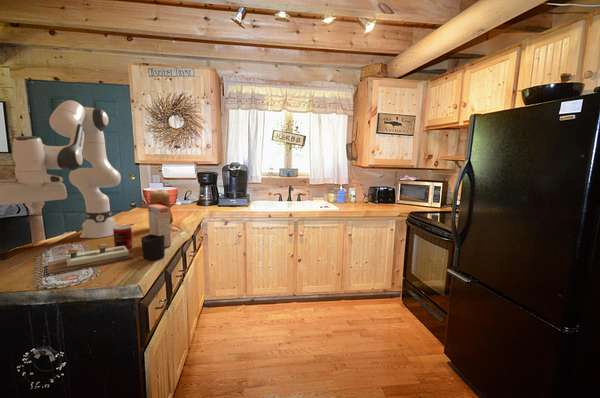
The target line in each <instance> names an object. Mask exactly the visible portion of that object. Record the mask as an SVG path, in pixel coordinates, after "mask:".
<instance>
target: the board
mask: <svg viewBox="0 0 600 398" xmlns="http://www.w3.org/2000/svg"><path fill="white" fill-rule="evenodd" d="M107 248H108V244H107V243H101V244H98V245H97V249H98V250H100V254H101V253H106V251H105V249H107ZM127 250H128V251H129V255H128V256H122V257H117V258H111V259H106V260H101V261H95V262H90V263H85V264H79V265H74V266H69V267H67V261H66V258H65V259H60V260H59V259H58V260H53V261H47V266H46V267H47V270H46V273H47V274H46V275H47V276H48V275H49V276H51V275H50V274H54V275H57V274H56V273H59V274H62V273H61V272H64V273H67V272H66V271H70V272H73V270H75V271H80V270H84V269H83V268H85V269H88V268H89V267H90V268H93V267H94V268H95V267H100V266H104V265H111V264H113V263H114V264H115V263H119V262H126V261H130V260H134V255H133V254H132V253H131V251H130V249H127ZM67 251H68V253H70V254H71V259H72V258H77V253H79V248H77V247H76V248H70V249H68V250H67ZM90 268H89V269H90ZM79 269H80V270H79Z"/></svg>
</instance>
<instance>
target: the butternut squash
mask: <svg viewBox="0 0 600 398" xmlns="http://www.w3.org/2000/svg"><path fill="white" fill-rule="evenodd" d="M170 195H171V194H170V193H169V191H168V190H165V189H156V190H153V191H152V192H150V194H149V205H155V204H159V205H163V206H166V207H169V213H170V225H172V223H173V222H174V217H173V213H172V210H171V206H172V204H171V199H170V198H171V196H170Z"/></svg>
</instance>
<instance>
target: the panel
mask: <svg viewBox="0 0 600 398" xmlns="http://www.w3.org/2000/svg"><path fill="white" fill-rule="evenodd" d="M128 250H129V249H128ZM128 250H127V248H126V247H125V246H119V247H115V246H112V247H106V248H105V251H106V253H101V254H100V249H96V250H89V251H84V252H83V251H82V252H77V258H72V259H71V253H68V250H66V251H65V259H66V261H67V267H69V266H74V265H79V264H85V263H90V262H95V261H101V260H106V259H111V258H117V257H122V256H128V255H129V251H130V250H129V251H128Z"/></svg>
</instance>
